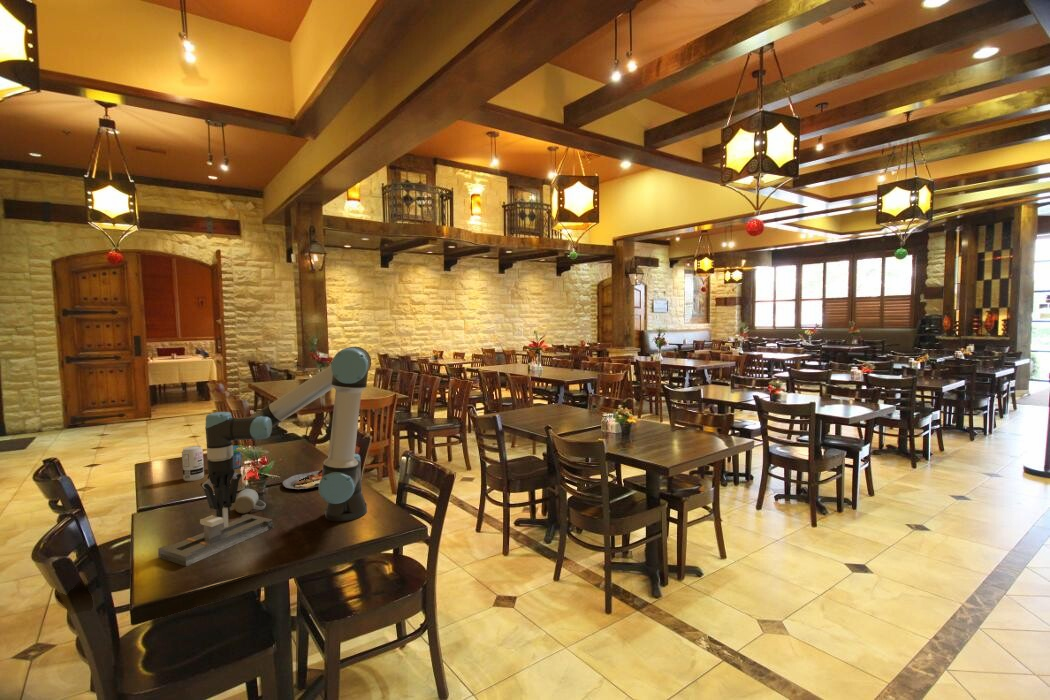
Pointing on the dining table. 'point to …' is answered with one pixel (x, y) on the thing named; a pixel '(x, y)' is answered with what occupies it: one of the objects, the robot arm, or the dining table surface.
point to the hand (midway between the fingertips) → (223, 526)
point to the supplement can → (192, 463)
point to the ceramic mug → (248, 501)
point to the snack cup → (237, 457)
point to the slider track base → (215, 540)
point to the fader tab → (211, 526)
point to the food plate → (313, 476)
